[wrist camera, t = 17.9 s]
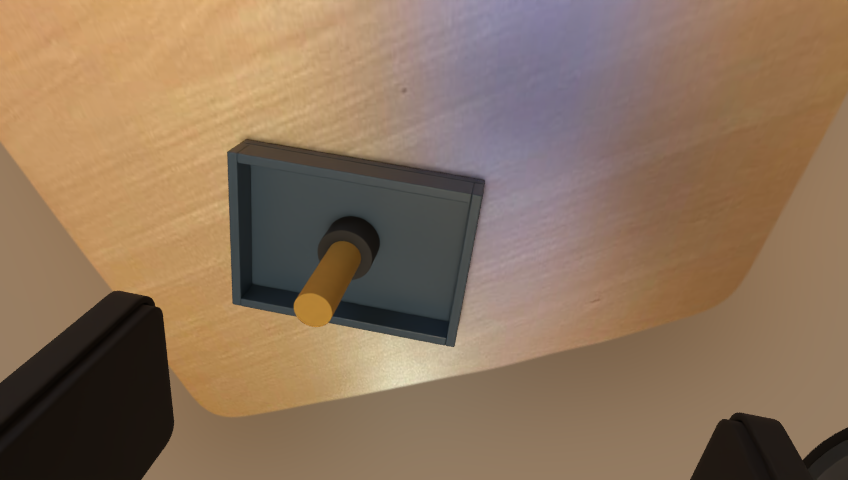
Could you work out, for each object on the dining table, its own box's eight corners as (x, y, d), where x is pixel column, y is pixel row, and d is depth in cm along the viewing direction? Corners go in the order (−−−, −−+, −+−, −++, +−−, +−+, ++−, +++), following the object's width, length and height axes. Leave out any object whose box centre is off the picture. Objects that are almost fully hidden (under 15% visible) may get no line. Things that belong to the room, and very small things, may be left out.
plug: (382, 221, 41) (347, 288, 33) (377, 268, 43) (343, 343, 35) (328, 211, 41) (280, 275, 33) (326, 258, 43) (280, 331, 35)
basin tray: (485, 180, 39) (482, 195, 37) (457, 324, 45) (454, 347, 42) (245, 139, 41) (226, 151, 38) (248, 284, 46) (232, 304, 44)
